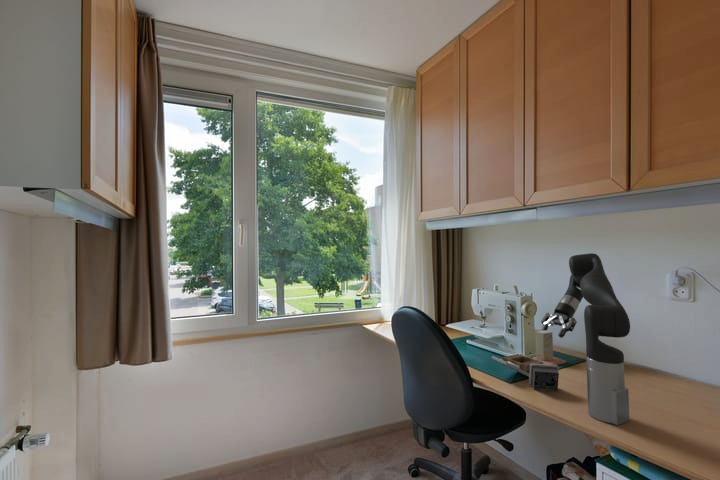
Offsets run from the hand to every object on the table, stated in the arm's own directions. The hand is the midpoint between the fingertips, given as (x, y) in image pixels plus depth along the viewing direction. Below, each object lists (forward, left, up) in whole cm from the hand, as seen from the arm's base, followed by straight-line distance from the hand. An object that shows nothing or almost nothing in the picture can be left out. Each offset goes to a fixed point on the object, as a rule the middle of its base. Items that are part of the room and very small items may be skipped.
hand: (551, 334), depth 153 cm
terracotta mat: (0, +4, -11) cm, 12 cm away
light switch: (-7, +32, -12) cm, 35 cm away
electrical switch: (-21, +31, -12) cm, 39 cm away
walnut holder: (-1, +19, -11) cm, 22 cm away
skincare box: (+1, +4, -11) cm, 12 cm away
